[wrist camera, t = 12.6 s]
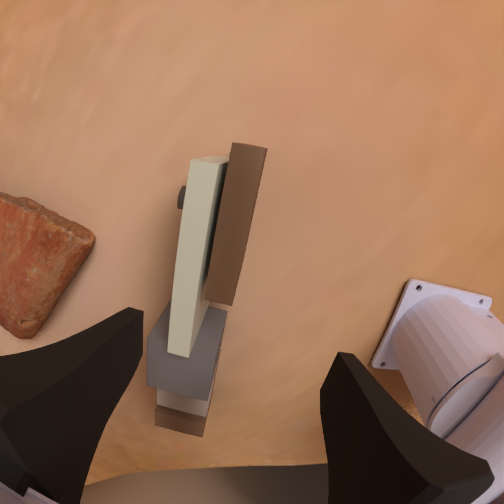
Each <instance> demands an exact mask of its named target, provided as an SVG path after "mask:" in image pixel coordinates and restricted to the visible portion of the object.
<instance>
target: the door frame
mask: <svg viewBox="0 0 504 504" xmlns="http://www.w3.org/2000/svg"><path fill="white" fill-rule="evenodd" d="M266 152H267V148H263V147H258V146H253V145H248V144H241V143H232V147H231V152H230V157H229V162H228V167H227V172H226V177H225V182H224V187H223V193H222V198H221V203H220V209H219V214H218V220H217V225H216V231H215V236H214V242H213V248H212V254H211V260H210V266H209V272H208V278H207V284H206V290H205V296H204V300H208V301H212V302H217V303H221V304H226V305H230V306H232V304H233V300H234V296H235V292H236V288H237V284H238V280H239V276H240V272H241V268H242V264H243V259H244V255H245V250H246V245H247V241H248V236H249V231H250V227H251V222H252V217H253V213H254V208H255V203H256V199H257V194H258V189H259V185H260V180H261V175H262V171H263V166H264V162H265V157H266ZM220 350H221V349H220ZM219 355H220V352H219ZM218 361H219V357H218ZM218 361H217V365H216V369H215V373H214V377H213V381H212V385H211V389H210V393H209V397H208V401H203V400H199V399H195V398H191V397H187V396H183V395H179V394H175V393H171V392H168V391H164V390H161V389H157V407H156V410H155V425H157V426H160V427H164V428H167V429H171V430H175V431H178V432H182V433H186V434H190V435H194V436H199V437H202V436H203V432H204V428H205V423H206V419H207V415H208V411H209V406H210V402H211V396H212V391H213V386H214V381H215V376H216V371H217V366H218Z"/></svg>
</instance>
